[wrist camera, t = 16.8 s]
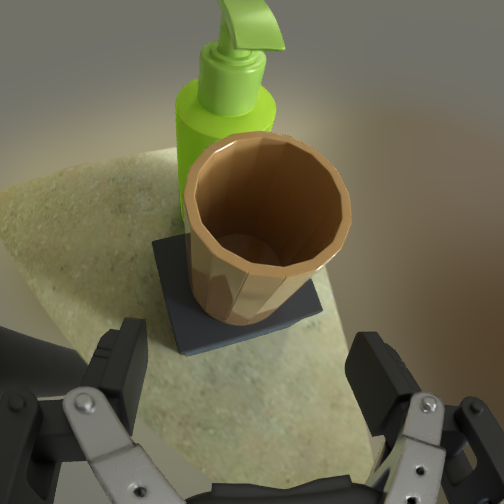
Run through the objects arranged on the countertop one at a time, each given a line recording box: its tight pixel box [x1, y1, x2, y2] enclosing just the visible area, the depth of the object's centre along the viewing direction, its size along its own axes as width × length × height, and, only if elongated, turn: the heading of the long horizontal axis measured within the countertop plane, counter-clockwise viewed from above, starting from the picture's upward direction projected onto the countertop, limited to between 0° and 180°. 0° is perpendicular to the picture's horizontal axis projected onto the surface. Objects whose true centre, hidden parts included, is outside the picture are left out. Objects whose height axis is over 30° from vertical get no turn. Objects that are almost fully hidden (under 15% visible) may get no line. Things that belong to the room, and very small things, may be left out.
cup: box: [183, 131, 351, 326], centre depth 15 cm, size 6×6×10 cm
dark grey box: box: [152, 234, 323, 356], centre depth 23 cm, size 9×7×7 cm
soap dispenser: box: [176, 0, 285, 222], centre depth 20 cm, size 6×7×20 cm
